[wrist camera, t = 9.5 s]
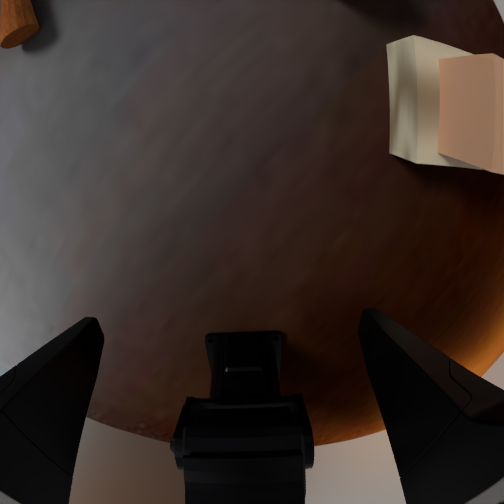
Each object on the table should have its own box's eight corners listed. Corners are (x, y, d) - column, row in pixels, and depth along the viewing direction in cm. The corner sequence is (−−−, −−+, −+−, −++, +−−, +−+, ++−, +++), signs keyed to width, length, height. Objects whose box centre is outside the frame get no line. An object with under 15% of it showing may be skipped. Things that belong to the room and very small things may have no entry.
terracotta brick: (479, 159, 15) (530, 180, 10) (437, 152, 15) (491, 171, 10) (482, 75, 12) (535, 77, 8) (438, 59, 12) (493, 53, 7)
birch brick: (450, 157, 19) (482, 169, 15) (387, 152, 19) (416, 163, 15) (450, 61, 15) (482, 58, 11) (384, 45, 15) (413, 35, 11)
